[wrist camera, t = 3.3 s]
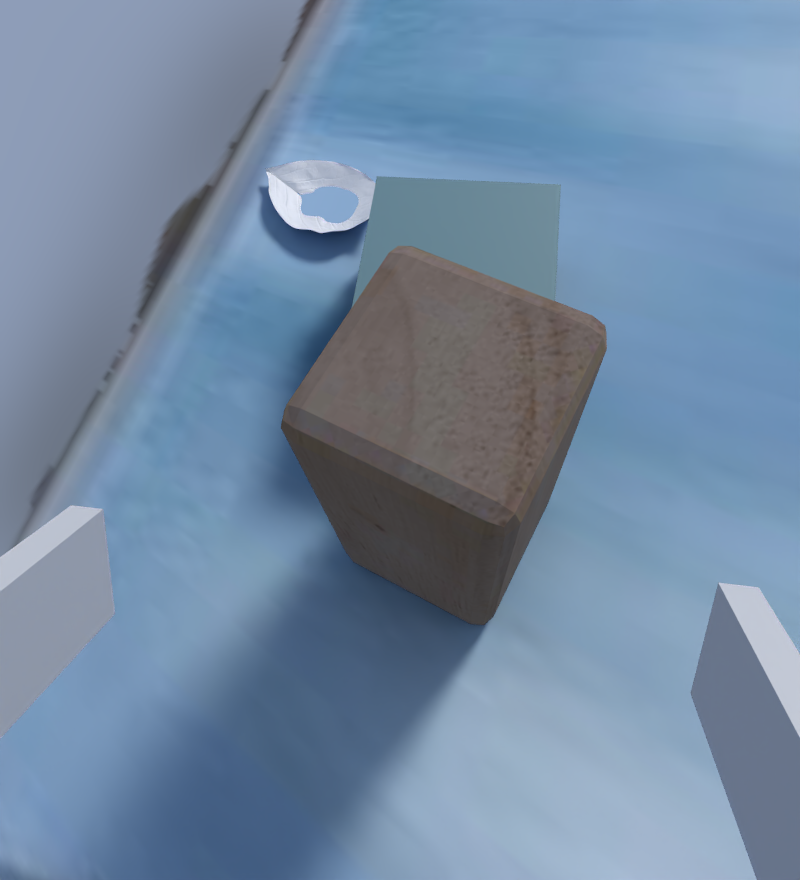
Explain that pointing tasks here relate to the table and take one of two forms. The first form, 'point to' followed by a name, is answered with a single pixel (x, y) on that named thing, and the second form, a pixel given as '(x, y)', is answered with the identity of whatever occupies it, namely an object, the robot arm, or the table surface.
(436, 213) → the grey teal block
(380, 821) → the table surface
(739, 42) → the table surface
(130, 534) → the table surface
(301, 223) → the pale veined leaf
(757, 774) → the robot arm
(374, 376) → the wooden block
